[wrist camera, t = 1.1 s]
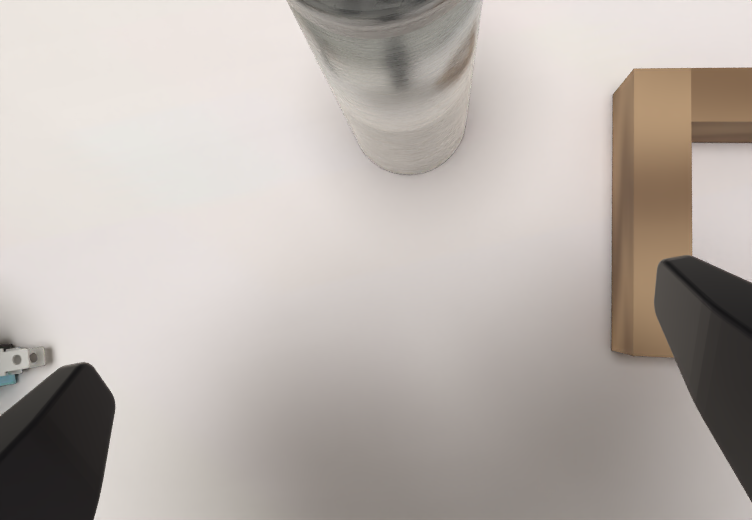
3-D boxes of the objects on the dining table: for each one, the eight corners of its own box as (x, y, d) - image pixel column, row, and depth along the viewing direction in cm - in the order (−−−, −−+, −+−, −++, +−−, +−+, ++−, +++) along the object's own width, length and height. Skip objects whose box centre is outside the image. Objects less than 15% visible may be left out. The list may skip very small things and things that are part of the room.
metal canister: (465, 176, 23) (497, 11, 10) (350, 175, 24) (241, 16, 11) (468, 63, 23) (502, -236, 11) (354, 64, 24) (255, -219, 11)
